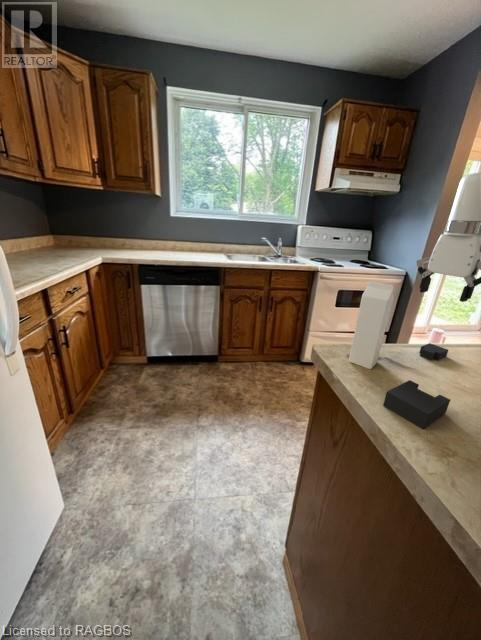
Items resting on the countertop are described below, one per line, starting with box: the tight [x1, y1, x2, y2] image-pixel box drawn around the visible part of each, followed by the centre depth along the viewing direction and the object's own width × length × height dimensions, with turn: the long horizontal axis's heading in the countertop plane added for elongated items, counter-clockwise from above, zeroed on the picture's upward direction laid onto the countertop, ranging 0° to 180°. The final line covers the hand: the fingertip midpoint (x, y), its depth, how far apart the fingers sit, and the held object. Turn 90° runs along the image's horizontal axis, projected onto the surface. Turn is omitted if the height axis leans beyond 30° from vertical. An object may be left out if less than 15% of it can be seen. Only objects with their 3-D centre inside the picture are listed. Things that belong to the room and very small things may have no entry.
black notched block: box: [382, 379, 451, 430], centre depth 55 cm, size 9×8×4 cm
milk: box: [348, 281, 394, 370], centre depth 71 cm, size 6×6×22 cm
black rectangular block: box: [418, 342, 449, 362], centre depth 77 cm, size 7×5×4 cm
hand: (442, 296), depth 73 cm, fingers open, 9 cm apart
